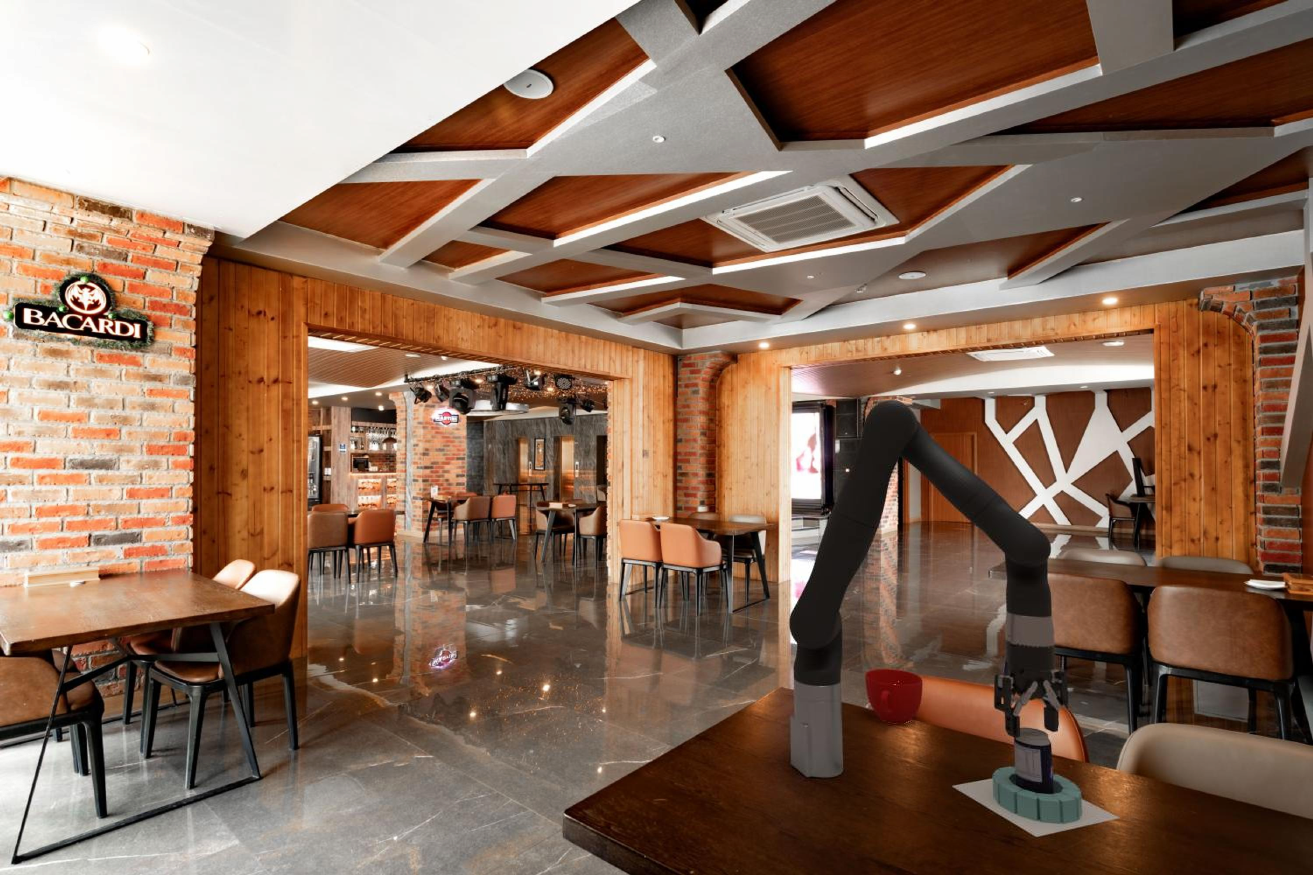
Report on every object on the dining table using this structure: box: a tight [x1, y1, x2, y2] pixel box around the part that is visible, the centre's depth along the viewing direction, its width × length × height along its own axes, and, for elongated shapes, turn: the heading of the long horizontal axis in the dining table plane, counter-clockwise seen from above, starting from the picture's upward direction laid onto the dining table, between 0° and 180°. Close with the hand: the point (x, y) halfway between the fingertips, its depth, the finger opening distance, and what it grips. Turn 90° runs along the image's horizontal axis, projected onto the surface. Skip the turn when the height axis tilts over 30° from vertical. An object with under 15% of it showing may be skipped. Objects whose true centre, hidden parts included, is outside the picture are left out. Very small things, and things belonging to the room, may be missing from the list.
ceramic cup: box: [864, 668, 924, 725], centre depth 153 cm, size 13×17×10 cm
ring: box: [992, 765, 1082, 824], centre depth 112 cm, size 13×13×4 cm
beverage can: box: [1013, 726, 1054, 794], centre depth 113 cm, size 6×6×12 cm
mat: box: [951, 777, 1120, 838], centre depth 113 cm, size 18×18×1 cm
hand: (1032, 733), depth 113 cm, fingers open, 8 cm apart
